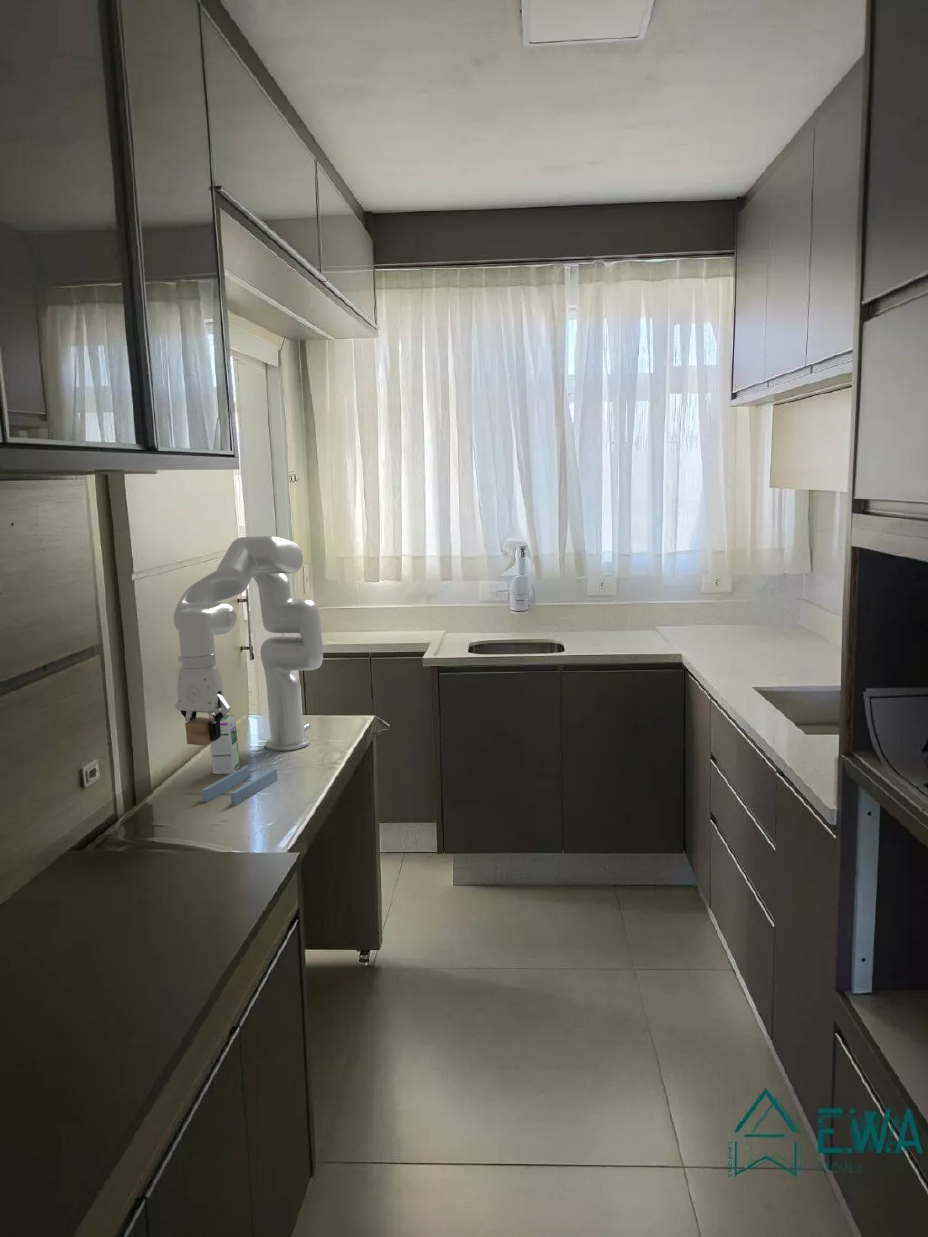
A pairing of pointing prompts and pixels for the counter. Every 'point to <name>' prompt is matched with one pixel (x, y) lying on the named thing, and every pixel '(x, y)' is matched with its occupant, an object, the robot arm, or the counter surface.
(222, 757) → the syrup box
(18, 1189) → the counter surface
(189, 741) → the walnut block
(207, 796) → the channel
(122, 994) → the counter surface
